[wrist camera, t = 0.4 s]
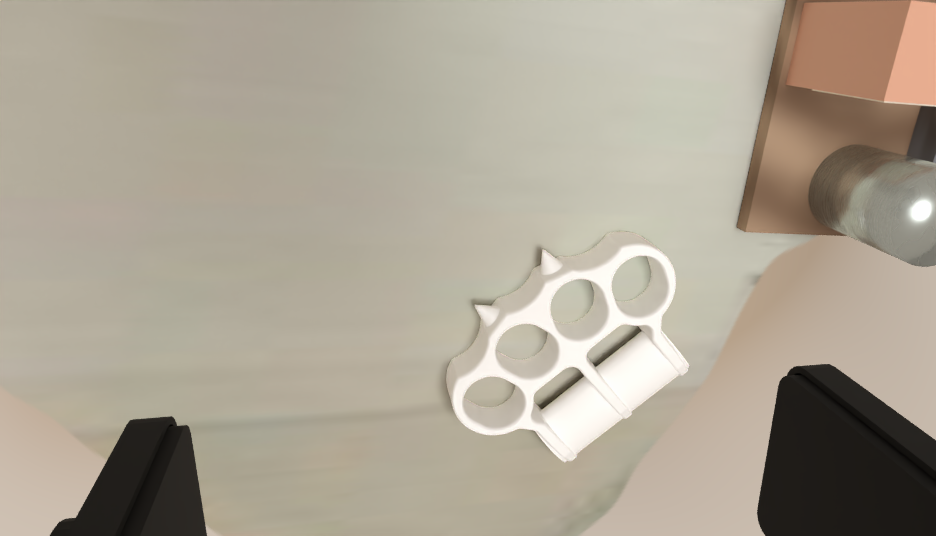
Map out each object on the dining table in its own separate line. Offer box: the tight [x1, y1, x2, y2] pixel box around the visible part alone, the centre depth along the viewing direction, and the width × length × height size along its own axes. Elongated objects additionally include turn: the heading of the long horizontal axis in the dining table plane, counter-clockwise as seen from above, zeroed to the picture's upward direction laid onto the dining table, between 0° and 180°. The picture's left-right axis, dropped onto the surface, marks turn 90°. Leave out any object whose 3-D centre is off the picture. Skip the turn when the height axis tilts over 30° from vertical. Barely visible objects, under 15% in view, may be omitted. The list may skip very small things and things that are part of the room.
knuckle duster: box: [446, 231, 690, 462], centre depth 50 cm, size 3×18×15 cm
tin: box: [808, 144, 936, 267], centre depth 45 cm, size 6×6×8 cm
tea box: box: [786, 0, 936, 107], centre depth 41 cm, size 7×5×9 cm
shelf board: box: [737, 0, 936, 236], centre depth 46 cm, size 17×12×4 cm
